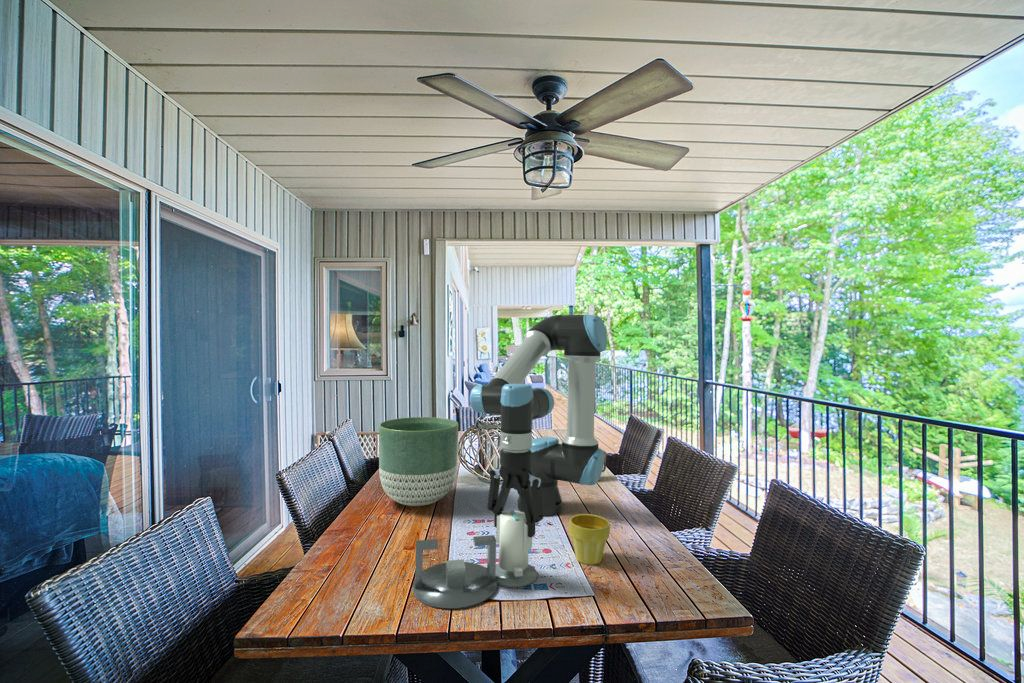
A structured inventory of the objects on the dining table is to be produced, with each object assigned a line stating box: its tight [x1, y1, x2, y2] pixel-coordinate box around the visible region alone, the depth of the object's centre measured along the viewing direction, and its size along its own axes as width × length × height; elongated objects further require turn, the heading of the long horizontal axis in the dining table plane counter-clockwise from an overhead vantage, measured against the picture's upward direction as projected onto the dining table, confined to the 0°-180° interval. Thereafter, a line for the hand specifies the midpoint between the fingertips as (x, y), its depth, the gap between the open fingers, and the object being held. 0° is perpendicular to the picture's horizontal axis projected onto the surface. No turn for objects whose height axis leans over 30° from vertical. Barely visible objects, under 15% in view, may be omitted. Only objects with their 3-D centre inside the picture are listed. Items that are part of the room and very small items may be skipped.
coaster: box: [495, 563, 538, 589], centre depth 110 cm, size 11×11×1 cm
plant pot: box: [568, 513, 611, 566], centre depth 119 cm, size 10×10×10 cm
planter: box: [378, 416, 459, 507], centre depth 158 cm, size 27×27×27 cm
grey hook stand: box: [412, 534, 498, 610], centre depth 105 cm, size 19×19×10 cm
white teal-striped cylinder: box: [498, 509, 530, 577], centre depth 110 cm, size 12×7×12 cm, turn 12°
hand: (513, 545), depth 110 cm, fingers closed on white teal-striped cylinder, 7 cm apart
